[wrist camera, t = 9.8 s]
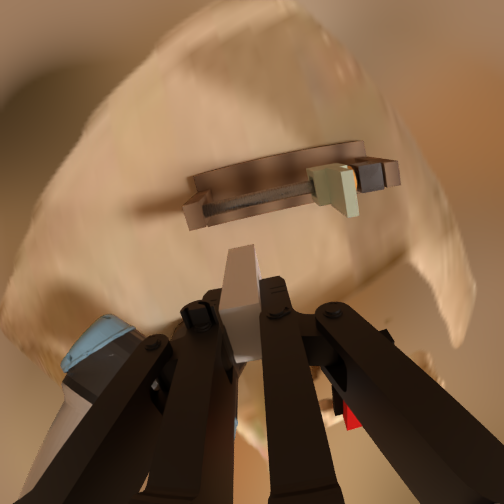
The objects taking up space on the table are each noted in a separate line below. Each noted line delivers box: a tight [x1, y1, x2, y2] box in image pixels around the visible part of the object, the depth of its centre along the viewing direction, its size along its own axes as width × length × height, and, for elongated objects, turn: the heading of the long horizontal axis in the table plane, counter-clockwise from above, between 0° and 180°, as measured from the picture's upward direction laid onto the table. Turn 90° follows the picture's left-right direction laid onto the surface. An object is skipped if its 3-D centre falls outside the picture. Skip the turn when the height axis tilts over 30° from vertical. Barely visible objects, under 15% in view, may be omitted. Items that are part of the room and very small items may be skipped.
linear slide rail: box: [182, 141, 401, 231], centre depth 35 cm, size 26×8×12 cm, turn 103°
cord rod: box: [202, 161, 384, 218], centre depth 31 cm, size 24×3×3 cm, turn 103°
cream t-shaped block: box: [306, 163, 359, 218], centre depth 28 cm, size 4×4×10 cm
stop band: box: [347, 166, 357, 190], centre depth 31 cm, size 1×3×3 cm, turn 14°
